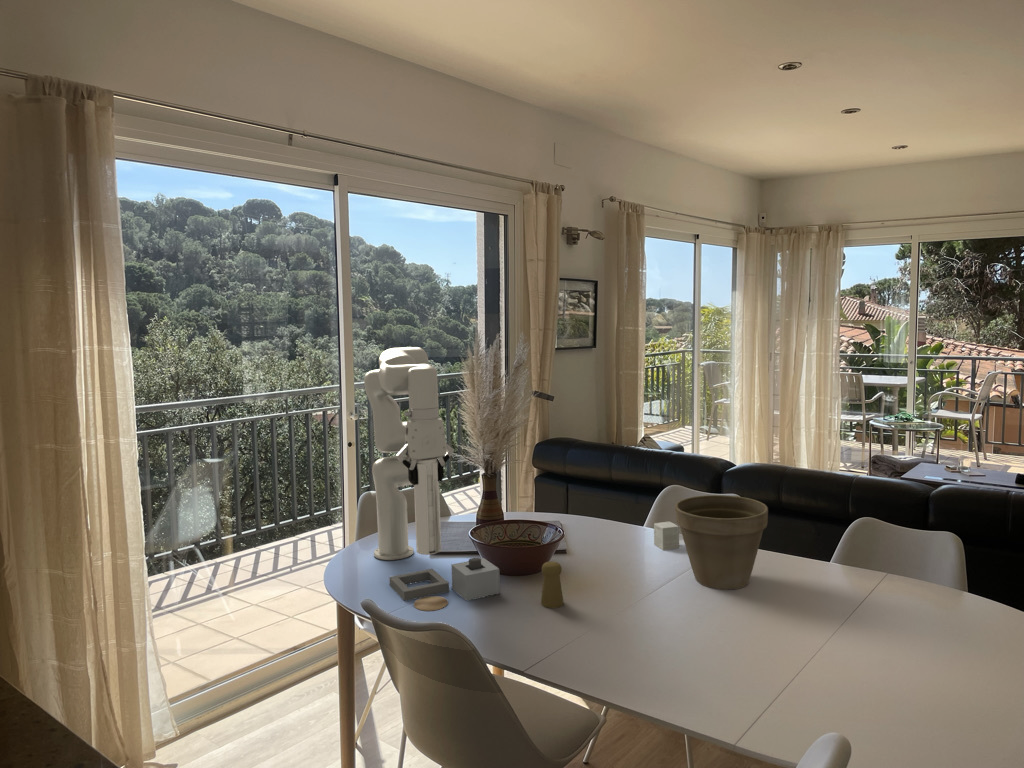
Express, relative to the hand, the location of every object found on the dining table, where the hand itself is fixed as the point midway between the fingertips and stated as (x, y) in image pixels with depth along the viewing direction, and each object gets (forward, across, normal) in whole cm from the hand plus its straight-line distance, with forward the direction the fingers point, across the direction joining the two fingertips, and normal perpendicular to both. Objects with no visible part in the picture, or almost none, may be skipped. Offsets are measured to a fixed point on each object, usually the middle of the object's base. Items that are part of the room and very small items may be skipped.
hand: (426, 481), depth 191 cm
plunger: (+28, +14, +2) cm, 32 cm away
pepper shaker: (+33, +28, -16) cm, 46 cm away
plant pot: (+33, +77, -26) cm, 88 cm away
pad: (+33, 0, 0) cm, 33 cm away
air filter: (+19, 0, 0) cm, 19 cm away
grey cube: (+33, +83, +5) cm, 90 cm away
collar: (+33, +1, +12) cm, 35 cm away
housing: (+33, +14, +2) cm, 36 cm away
